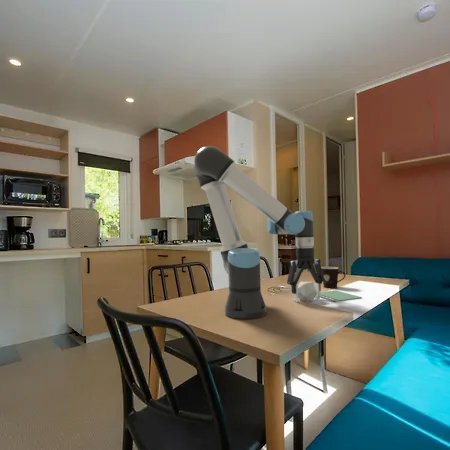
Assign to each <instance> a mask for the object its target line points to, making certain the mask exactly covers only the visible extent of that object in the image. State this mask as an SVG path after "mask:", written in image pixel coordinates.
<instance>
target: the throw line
mask: <svg viewBox="0 0 450 450" xmlns="http://www.w3.org/2000/svg"><path fill="white" fill-rule="evenodd" d="M320 299H324V300H326V301H330V302H335V303H337V300H334V299H331V298H327V297H324V296H321V295H320Z"/></svg>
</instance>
